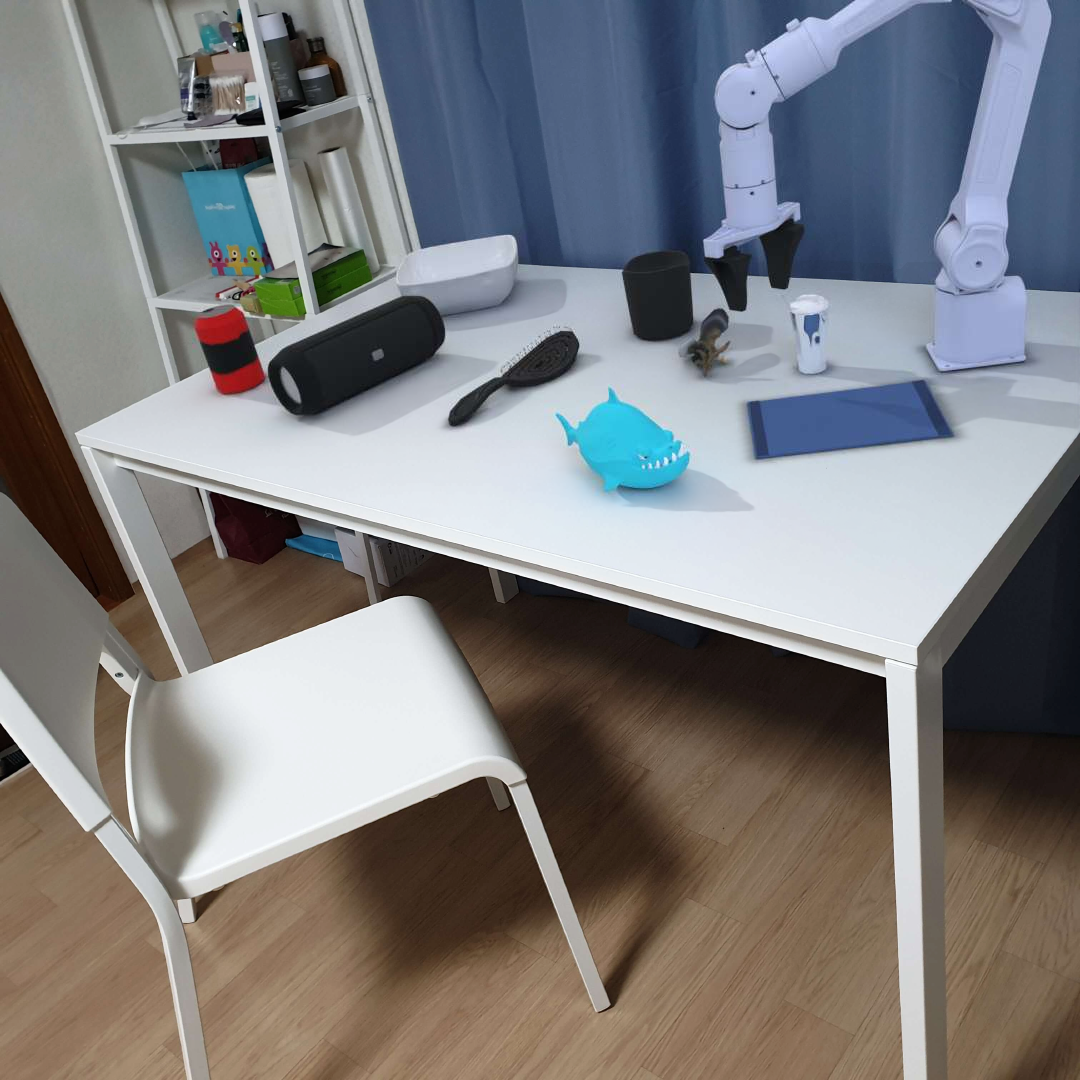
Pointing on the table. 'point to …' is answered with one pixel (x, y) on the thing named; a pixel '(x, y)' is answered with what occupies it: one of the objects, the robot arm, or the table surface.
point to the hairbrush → (523, 372)
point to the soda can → (229, 349)
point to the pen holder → (659, 294)
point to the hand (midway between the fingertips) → (759, 298)
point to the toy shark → (627, 446)
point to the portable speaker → (356, 355)
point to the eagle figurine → (708, 340)
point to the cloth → (846, 419)
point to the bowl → (461, 274)
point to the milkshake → (810, 331)
